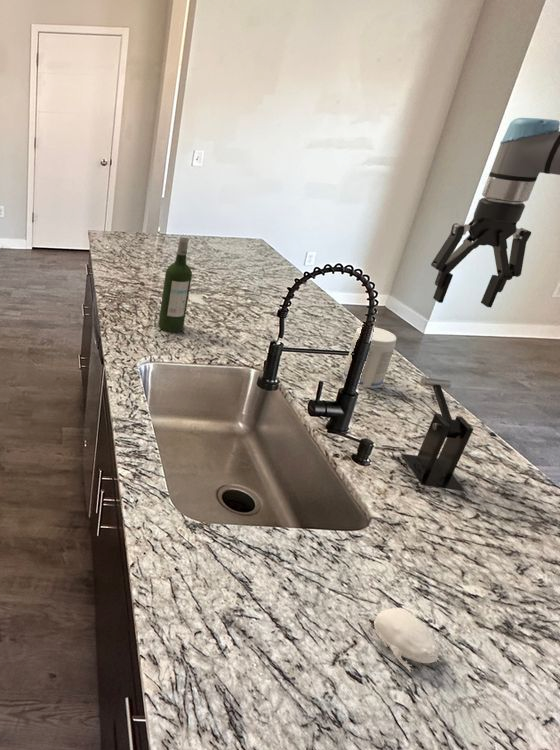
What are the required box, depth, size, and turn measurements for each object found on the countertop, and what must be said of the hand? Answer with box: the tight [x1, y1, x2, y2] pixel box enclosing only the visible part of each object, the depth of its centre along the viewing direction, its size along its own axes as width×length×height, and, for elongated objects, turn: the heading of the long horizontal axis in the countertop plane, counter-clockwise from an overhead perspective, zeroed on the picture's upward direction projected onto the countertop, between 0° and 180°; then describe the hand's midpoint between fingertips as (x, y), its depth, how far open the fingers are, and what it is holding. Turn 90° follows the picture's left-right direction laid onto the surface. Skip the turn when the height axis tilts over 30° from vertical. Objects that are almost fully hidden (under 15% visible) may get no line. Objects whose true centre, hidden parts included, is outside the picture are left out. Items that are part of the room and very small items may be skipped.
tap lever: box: [420, 377, 462, 438], centre depth 110 cm, size 13×5×2 cm, turn 170°
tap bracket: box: [400, 413, 474, 492], centre depth 109 cm, size 10×8×14 cm
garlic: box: [373, 607, 442, 673], centre depth 77 cm, size 8×7×4 cm
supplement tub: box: [342, 326, 398, 389], centre depth 143 cm, size 10×10×15 cm
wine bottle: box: [158, 235, 193, 333], centre depth 167 cm, size 8×8×30 cm
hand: (461, 302), depth 118 cm, fingers open, 9 cm apart
